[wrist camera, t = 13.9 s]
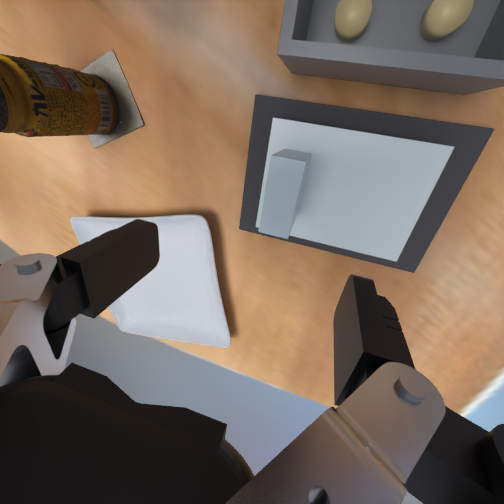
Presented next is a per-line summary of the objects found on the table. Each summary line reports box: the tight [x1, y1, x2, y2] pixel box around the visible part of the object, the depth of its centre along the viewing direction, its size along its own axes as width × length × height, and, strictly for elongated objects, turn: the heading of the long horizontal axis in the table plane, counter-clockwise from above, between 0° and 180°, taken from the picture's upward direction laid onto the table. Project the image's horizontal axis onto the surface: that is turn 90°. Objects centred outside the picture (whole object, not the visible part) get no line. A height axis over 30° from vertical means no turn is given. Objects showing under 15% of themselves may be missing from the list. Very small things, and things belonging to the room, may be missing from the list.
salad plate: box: [70, 214, 231, 348], centre depth 37 cm, size 21×21×3 cm
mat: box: [239, 95, 494, 273], centre depth 25 cm, size 14×20×1 cm
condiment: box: [0, 49, 144, 148], centre depth 23 cm, size 7×8×12 cm
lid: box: [256, 118, 454, 262], centre depth 21 cm, size 15×11×8 cm
